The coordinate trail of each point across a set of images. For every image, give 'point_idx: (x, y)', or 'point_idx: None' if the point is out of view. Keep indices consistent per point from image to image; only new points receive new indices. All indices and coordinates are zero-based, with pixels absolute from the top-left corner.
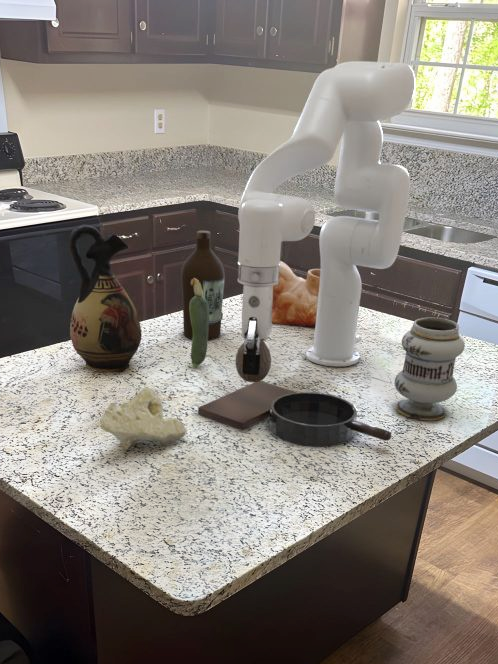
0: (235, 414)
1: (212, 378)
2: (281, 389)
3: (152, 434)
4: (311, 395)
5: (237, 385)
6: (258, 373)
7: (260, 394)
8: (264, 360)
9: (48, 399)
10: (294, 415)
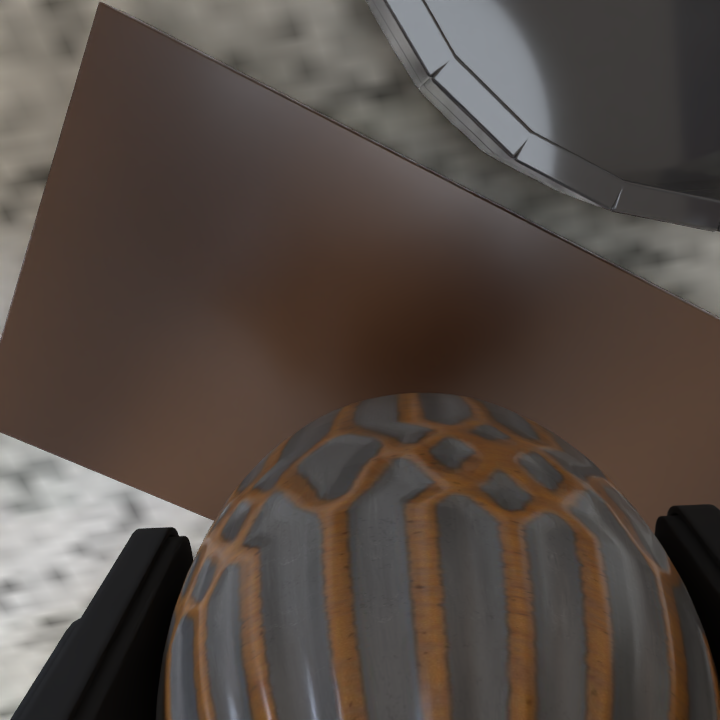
0: (698, 465)
1: (10, 677)
2: (83, 214)
3: None
4: None
5: (49, 531)
6: (716, 513)
7: (261, 363)
8: (644, 564)
9: None
10: (506, 18)
